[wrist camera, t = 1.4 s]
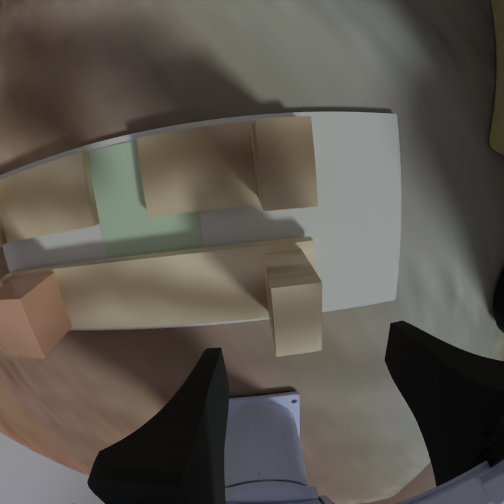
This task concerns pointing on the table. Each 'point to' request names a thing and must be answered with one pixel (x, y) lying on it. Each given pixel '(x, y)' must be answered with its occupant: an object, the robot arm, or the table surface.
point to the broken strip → (173, 177)
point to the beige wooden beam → (199, 290)
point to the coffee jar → (499, 303)
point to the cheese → (498, 80)
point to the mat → (253, 211)
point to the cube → (32, 316)
